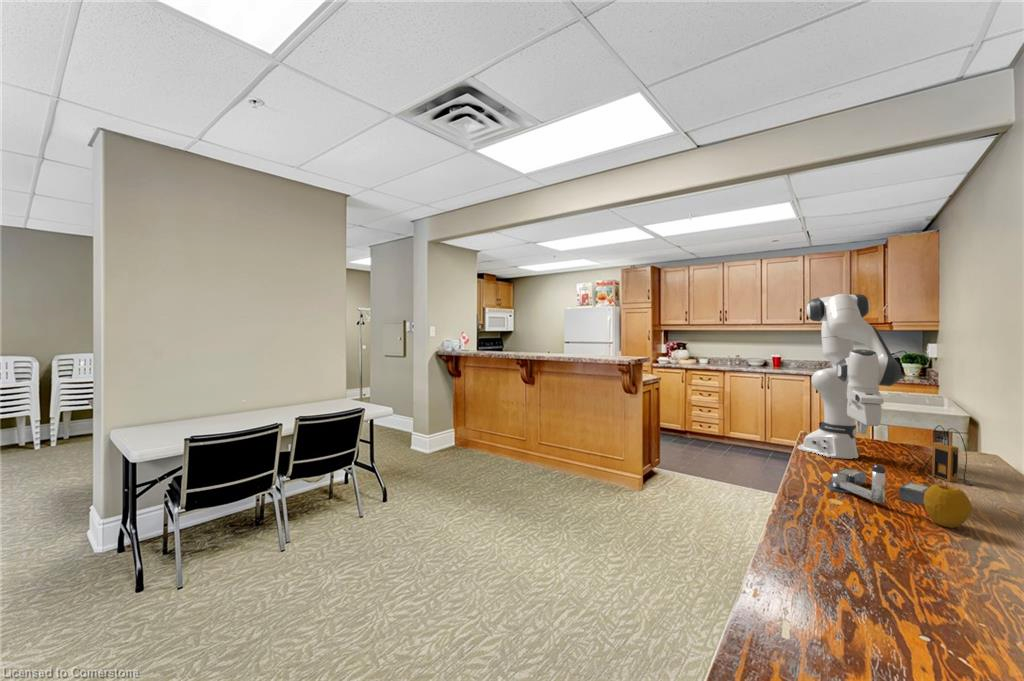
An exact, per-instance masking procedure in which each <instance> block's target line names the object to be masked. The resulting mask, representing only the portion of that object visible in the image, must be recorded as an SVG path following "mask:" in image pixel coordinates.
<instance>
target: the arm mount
mask: <svg viewBox="0 0 1024 681" xmlns="http://www.w3.org/2000/svg"><path fill="white" fill-rule="evenodd" d="M825 486H826V487H827V488H828V490H829V491H830V492H833V493H834V492H835V493H842V494H850V495H852V494H853V492H851V491H848V490H846V489H843V488H838V487H834V486H832V483H828V482H826V483H825Z"/></svg>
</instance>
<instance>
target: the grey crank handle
mask: <svg viewBox="0 0 1024 681" xmlns="http://www.w3.org/2000/svg"><path fill="white" fill-rule="evenodd" d="M886 471H887V470H886V468H885V466H884V465H882V464H874V465H873V466H872V467H871V489H867V488H865V487H863V486H861V485H860V486H858V485H855V484H852V483H850V482H847V481H846V475H844V474H840V473H835V472H832V473H831V484H832V486H834V487H838V488H843V489H846V490H848V491H851V492H852V494H856V495H858V496H860V497H863V498H866V499H868V500H870V501H872V502H874V503H877V504H878V503H879V504H884V503H885V498H886V496H885V494H886V492H885V491H886V473H887V472H886Z"/></svg>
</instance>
